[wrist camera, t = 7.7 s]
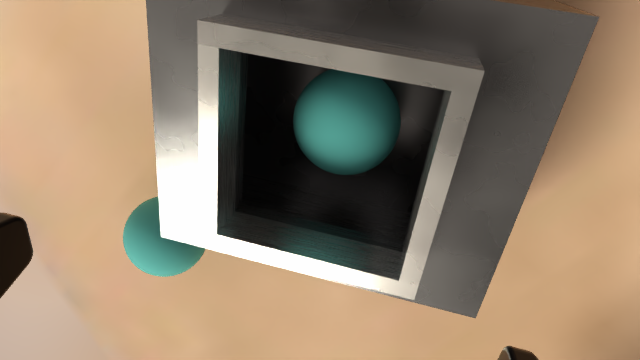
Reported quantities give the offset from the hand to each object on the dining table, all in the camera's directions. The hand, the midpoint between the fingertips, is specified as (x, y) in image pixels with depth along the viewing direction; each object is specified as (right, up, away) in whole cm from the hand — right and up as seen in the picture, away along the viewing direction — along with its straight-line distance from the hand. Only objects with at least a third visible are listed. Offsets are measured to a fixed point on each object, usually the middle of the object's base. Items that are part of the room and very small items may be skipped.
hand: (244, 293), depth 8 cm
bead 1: (-6, 0, +16) cm, 17 cm away
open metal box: (+3, +5, +11) cm, 12 cm away
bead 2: (+3, +5, +10) cm, 12 cm away
